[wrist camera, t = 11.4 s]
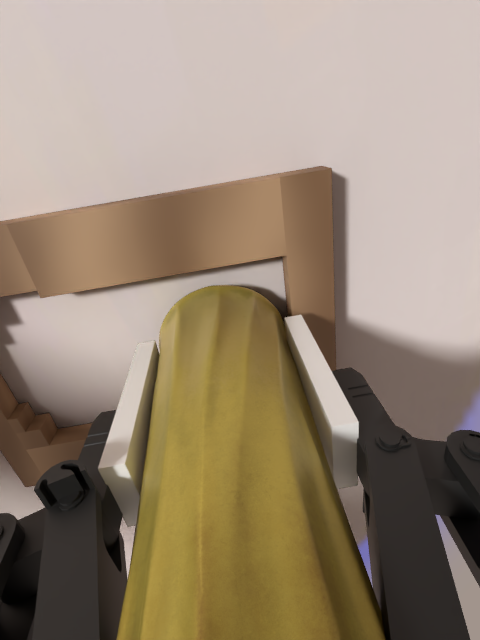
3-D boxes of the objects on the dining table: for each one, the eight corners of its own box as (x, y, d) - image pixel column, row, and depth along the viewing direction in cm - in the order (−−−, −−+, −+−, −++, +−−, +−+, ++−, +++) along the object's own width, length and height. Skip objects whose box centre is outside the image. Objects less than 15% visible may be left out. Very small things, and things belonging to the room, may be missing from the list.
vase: (298, 367, 18) (505, 880, 6) (190, 404, 19) (161, 948, 6) (263, 263, 15) (522, 828, 3) (136, 310, 16) (-117, 965, 3)
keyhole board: (34, 469, 21) (25, 486, 20) (-113, 240, 14) (-139, 249, 13) (330, 416, 21) (337, 431, 20) (322, 166, 14) (331, 168, 13)
